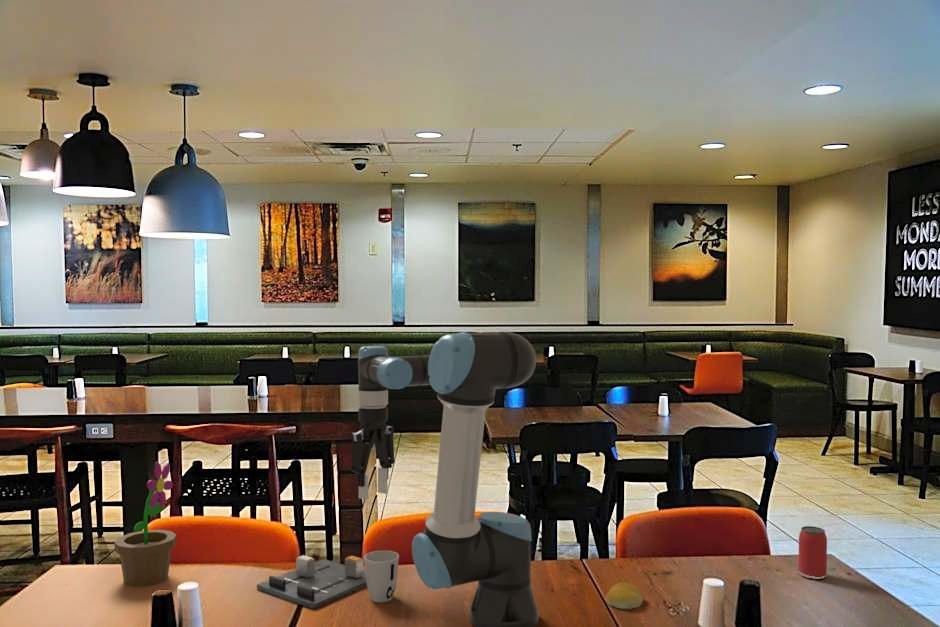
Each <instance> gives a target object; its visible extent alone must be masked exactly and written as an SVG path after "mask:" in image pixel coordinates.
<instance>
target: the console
mask: <svg viewBox="0 0 940 627" xmlns="http://www.w3.org/2000/svg"><path fill="white" fill-rule="evenodd" d="M314 564H315V575H313V576H311V577H308V578H306V577H303V576H300V575H297V574H296V569H294V570H292V571H289V572H286V573H284V574H281V575H279V576H274V575H269V576H268V579H267V580H265V581H263V582H260V583H257V584H256V590H257V589H258V591H260V590H261V592H263V593H265V594H269V595H271V596H275V597H277V598H281V599H283V600H286V601H289V602H291V603H294V604H296V605H299V606H303V607H305V608H308V609H311V610H316V609H318V608H321V607H323V606H326V605H327V604H329V603H332V602H333V601H334V602H335V601H336V600H339V599H341V598H343V597H345V596H347V595H350V594H351V593H355V592H356V591H358V590H362V589H363V588H366V587H367V581H366V575H365V570H363V576H361V577H358V578H354V577H350V576H347V575H345V564H343V563H339V562H336V561H332V560H329V559H325V558H323V559H321V560H318V561H314Z"/></svg>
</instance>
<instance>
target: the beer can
mask: <svg viewBox="0 0 940 627" xmlns="http://www.w3.org/2000/svg"><path fill="white" fill-rule="evenodd" d="M827 555H828V538H827V534H826V531H825V529H824V528H821V527H818V526H812V525H807V526H802V527H801V528H800V532H799V534H798V570H799V571H800V572H802V573H803V574H806V575H809V576H815V577H822V576H825V575H826V576H827V568H828V567H827V564H828V562H827V561H828V560H827V559H828V556H827Z"/></svg>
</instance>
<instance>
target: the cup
mask: <svg viewBox="0 0 940 627" xmlns="http://www.w3.org/2000/svg"><path fill="white" fill-rule="evenodd" d="M363 558H364V559H363V562H364V571H365V575H366V581H367V586H366V587H367V590H368V595H369V597H370V600H371V601H372V602H374V603H387V602H390V601H392V600H393V598H394V595H395V591H396V587H397V583H398V582H397V581H398V577H399V576H398V574H399V562H400V561H399V560H400V559H399V558H400V554H399V553H397V552H396V551H393V550H375V551H371V552H370V551H369V552H368V553H366V554H365V555H364V556H363Z"/></svg>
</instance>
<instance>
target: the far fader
mask: <svg viewBox="0 0 940 627" xmlns="http://www.w3.org/2000/svg"><path fill="white" fill-rule="evenodd" d="M295 561H296V562H295V563H296V564H295V566H296V567H295V568H296V569H295V570H296V574H297V575H300V576H303V577H306V578H308V577H311V576H313V575H315V564H314V563H315V558H313V557H311V556H309V555H304V554H302V555H300V556H298V557H297V558H296V560H295Z"/></svg>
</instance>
